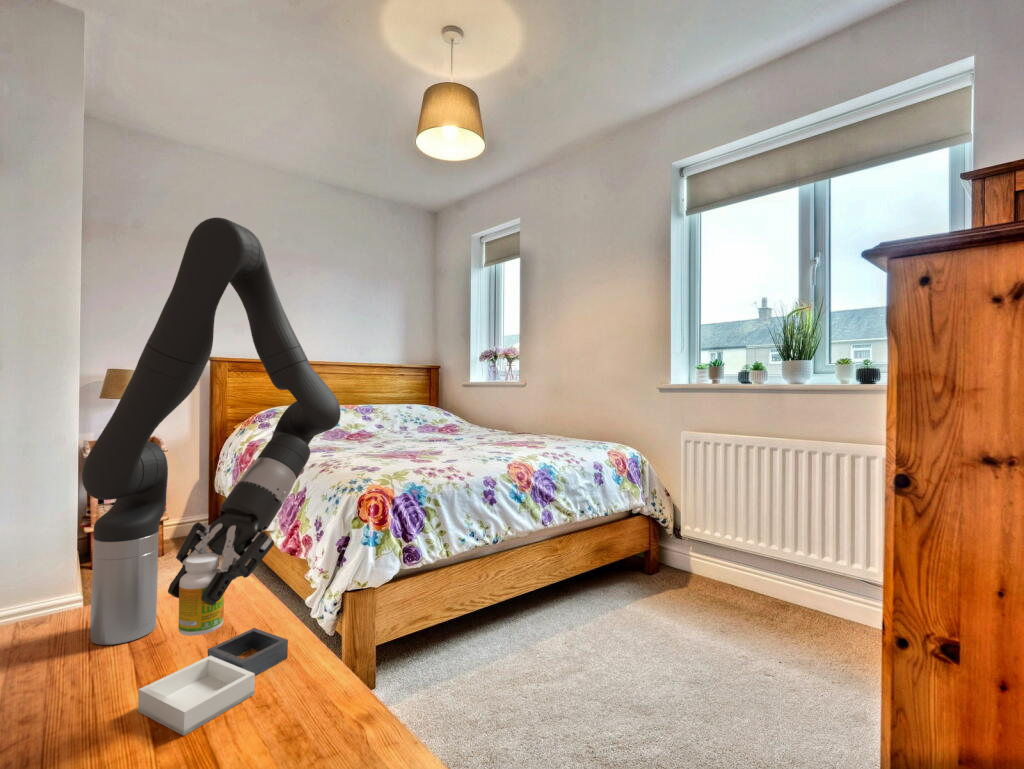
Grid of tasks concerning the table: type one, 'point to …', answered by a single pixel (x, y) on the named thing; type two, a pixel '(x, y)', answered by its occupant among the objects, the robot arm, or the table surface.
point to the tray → (196, 694)
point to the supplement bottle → (199, 596)
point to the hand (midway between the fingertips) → (190, 598)
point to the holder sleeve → (266, 643)
